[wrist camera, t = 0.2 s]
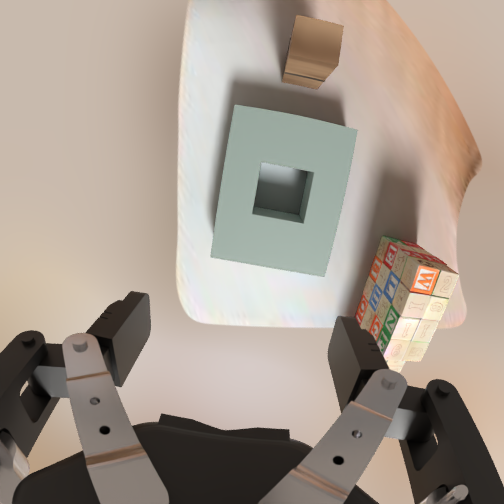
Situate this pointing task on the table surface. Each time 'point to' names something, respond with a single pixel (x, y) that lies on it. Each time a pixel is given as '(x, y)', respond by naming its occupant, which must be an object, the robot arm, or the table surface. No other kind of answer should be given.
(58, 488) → the robot arm
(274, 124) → the socket board
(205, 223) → the table surface
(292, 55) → the walnut peg
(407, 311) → the stack of blocks
